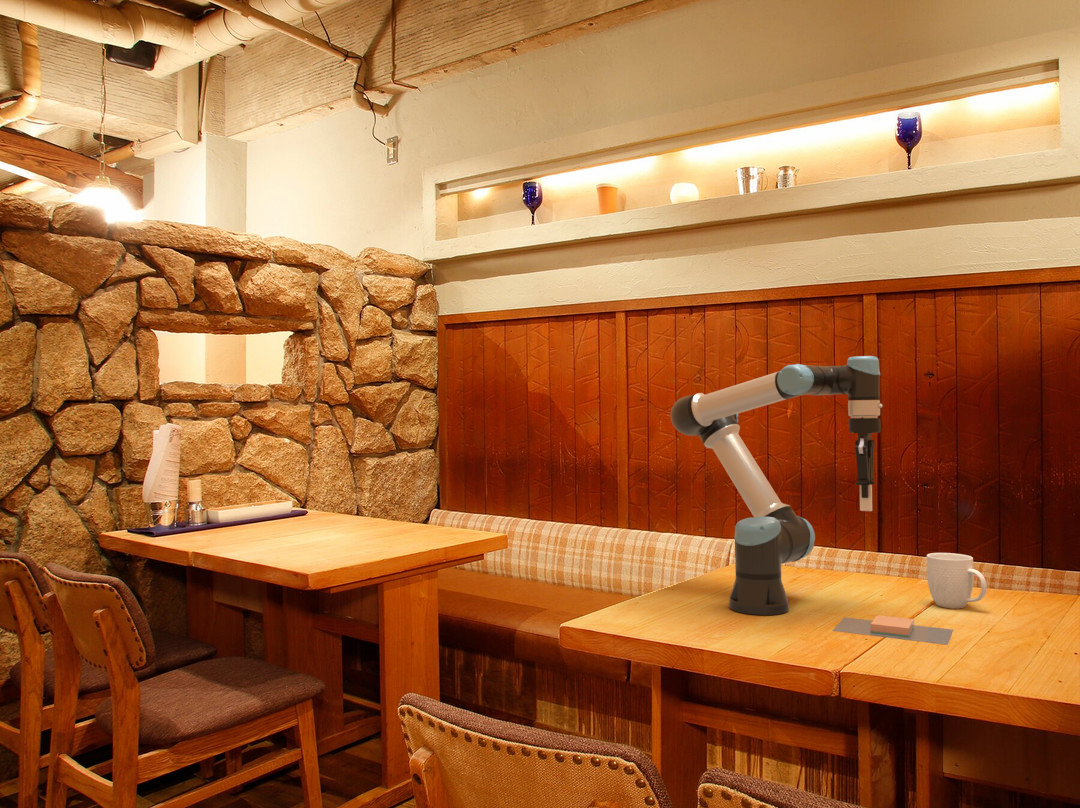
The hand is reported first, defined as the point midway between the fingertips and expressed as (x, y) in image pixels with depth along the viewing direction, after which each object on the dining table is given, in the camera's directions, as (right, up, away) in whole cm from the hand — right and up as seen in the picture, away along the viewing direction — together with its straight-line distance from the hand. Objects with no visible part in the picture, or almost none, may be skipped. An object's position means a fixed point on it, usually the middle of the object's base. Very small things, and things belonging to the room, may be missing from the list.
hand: (866, 510), depth 206 cm
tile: (+1, -24, -14) cm, 28 cm away
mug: (+26, -26, +7) cm, 38 cm away
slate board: (-1, -26, -18) cm, 32 cm away
